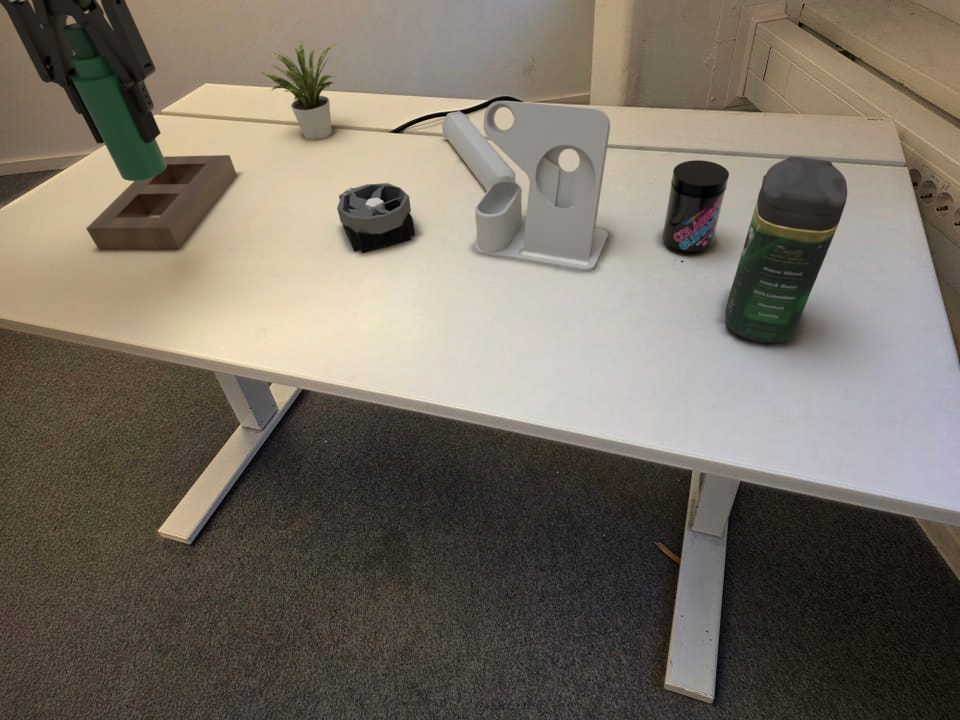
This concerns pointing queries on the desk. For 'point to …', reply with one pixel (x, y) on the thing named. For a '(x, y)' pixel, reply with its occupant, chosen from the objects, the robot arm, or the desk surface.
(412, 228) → the cpu cooler
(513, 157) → the phone holder
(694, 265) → the desk surface
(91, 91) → the bottle
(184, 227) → the bottle holder
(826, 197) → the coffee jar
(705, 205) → the supplement container
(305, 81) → the house plant
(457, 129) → the tube
